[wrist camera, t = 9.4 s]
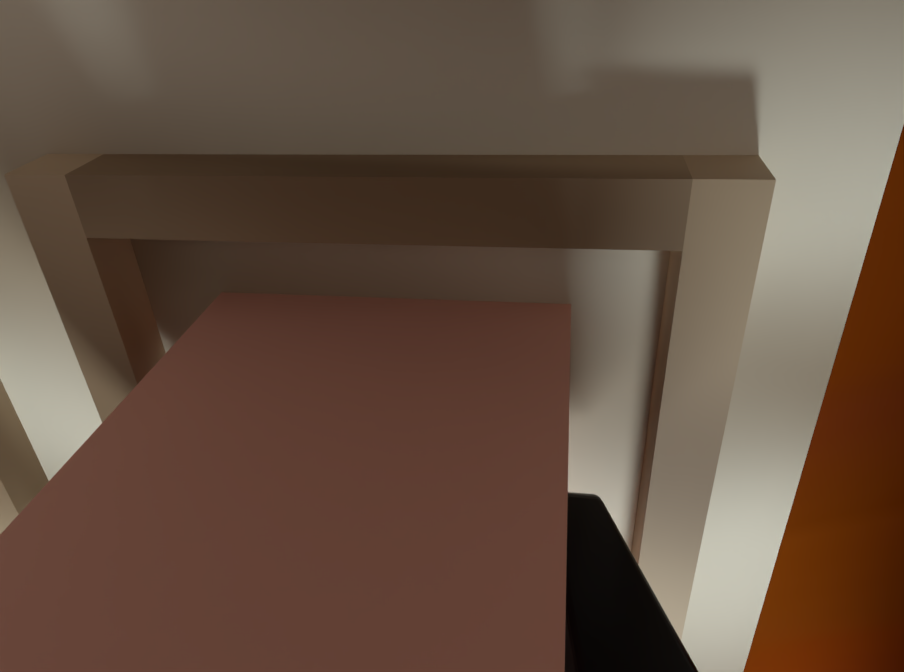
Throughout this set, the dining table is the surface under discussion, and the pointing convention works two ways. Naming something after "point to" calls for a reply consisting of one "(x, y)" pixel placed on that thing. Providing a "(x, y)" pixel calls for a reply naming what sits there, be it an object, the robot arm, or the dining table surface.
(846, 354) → the dining table surface
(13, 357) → the board
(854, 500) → the dining table surface
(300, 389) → the block
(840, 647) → the dining table surface
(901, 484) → the dining table surface
